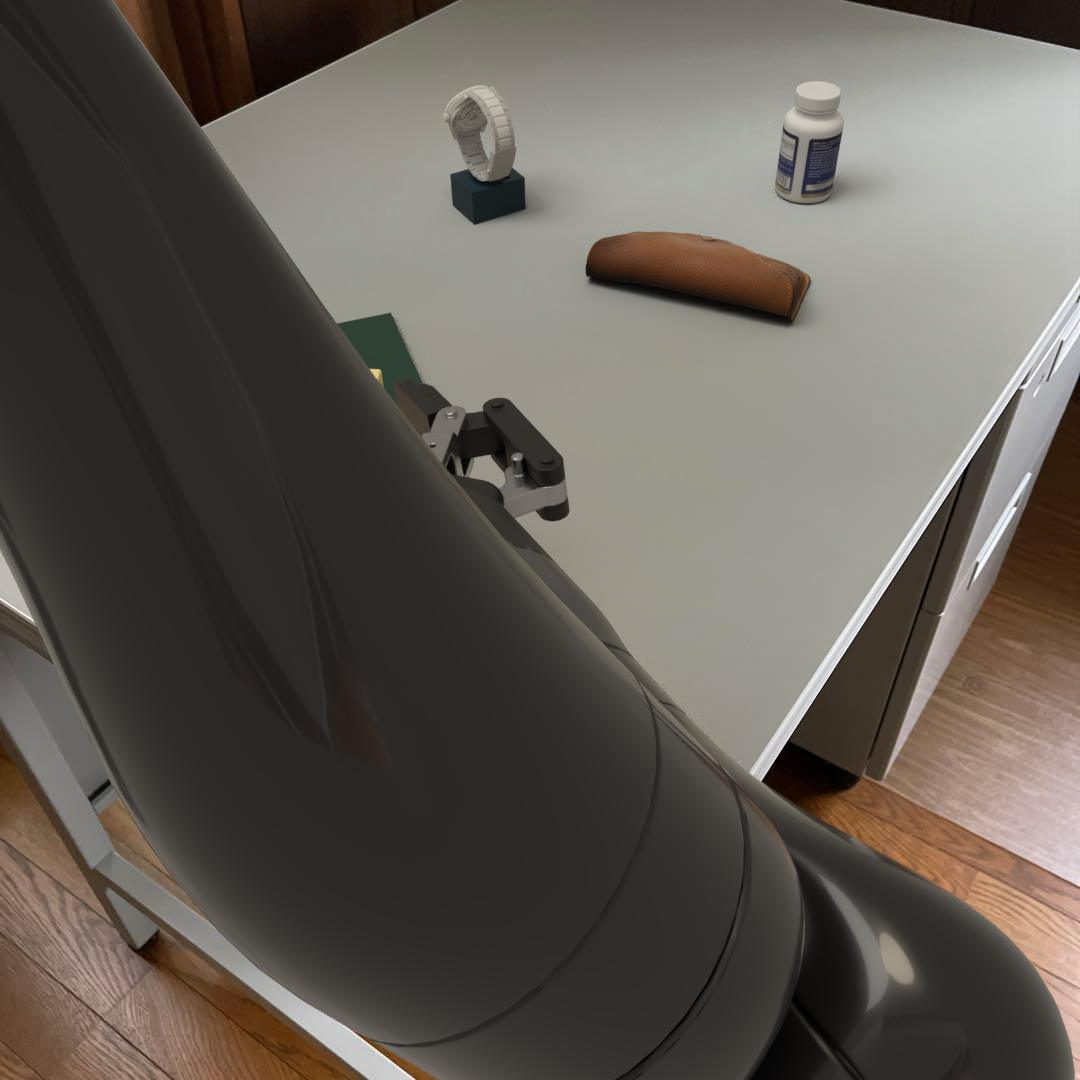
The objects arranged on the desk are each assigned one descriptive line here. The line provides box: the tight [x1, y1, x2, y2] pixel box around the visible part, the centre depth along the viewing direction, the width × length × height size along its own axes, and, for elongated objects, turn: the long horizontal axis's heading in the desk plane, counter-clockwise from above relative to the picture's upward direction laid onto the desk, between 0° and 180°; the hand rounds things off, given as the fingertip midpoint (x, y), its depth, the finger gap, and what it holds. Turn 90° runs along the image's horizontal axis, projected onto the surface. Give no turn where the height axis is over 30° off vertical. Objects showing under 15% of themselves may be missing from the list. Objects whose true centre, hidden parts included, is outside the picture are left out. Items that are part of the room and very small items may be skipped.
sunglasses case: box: [584, 230, 811, 322], centre depth 93 cm, size 18×7×7 cm, turn 67°
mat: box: [336, 312, 424, 407], centre depth 84 cm, size 18×16×1 cm
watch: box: [441, 84, 527, 225], centre depth 101 cm, size 6×8×11 cm
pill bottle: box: [774, 80, 845, 204], centre depth 102 cm, size 5×5×10 cm
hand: (313, 431), depth 47 cm, fingers open, 8 cm apart
